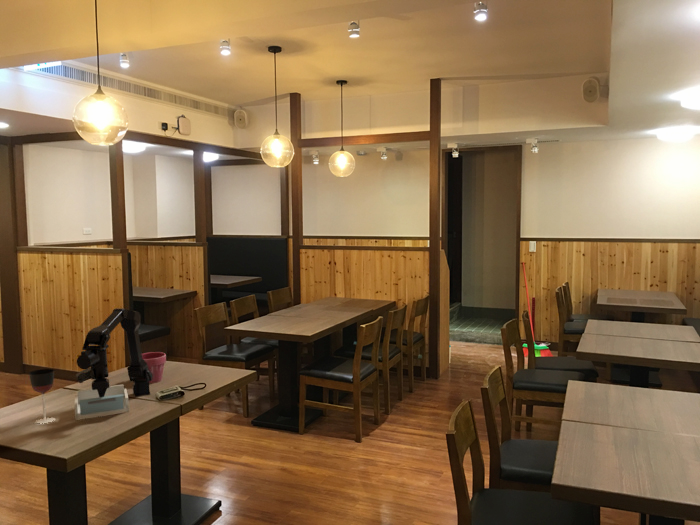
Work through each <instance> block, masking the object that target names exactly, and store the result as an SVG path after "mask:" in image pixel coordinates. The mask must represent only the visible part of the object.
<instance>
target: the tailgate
mask: <svg viewBox="0 0 700 525" xmlns="http://www.w3.org/2000/svg"><path fill="white" fill-rule="evenodd" d="M79 402H80V414H81V415H85V414H92V413H99V412H105V411H112V410H119V409H124V399H123V394H120V395H113V396H106V397H99V398H92V399H84V400H79Z"/></svg>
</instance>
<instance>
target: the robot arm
mask: <svg viewBox="0 0 700 525" xmlns="http://www.w3.org/2000/svg"><path fill="white" fill-rule="evenodd" d="M141 319H142V316H141V313H140V312H139V311H135V310H129V309H126V308H121V307H120V308H114V309H113V310H112V312H111V313H110V314H109V315H108V316H107V317H106V319H105V320H104V321H103V322H102V323H101V324H100V325H98V326H96V327H93V328H91V329H90V330H89V331H88V332H87V334H86V335H85V338H84V343H83V345H82V348H81V349H82V351H80V355H79V356H78V357H77V359H76V364H77V367H78V368H80V369H81V371H79V372H77V373H76V375H75V377H76V379H77V381H78V383H79V384H82V383H84V382H85V381H88V380H89V379H91V380H92V381H91V389H92V390H97V391H98V394H99V397H104V395H105V393H106V390H107V388H109V386H110V379H108V378H109V369H108V368H109V367H108V354H107V352H108V351H107V350H108V348H109V347H110V345H109V344H107V343H108V342H109V340H110V339H111V333H112V332H113V330H114V329H115V328H116V327H117V326H118V325H119V324H120V327H121V328H122V329H123V330H124V331H125V333H126V334H125V335H126V338H127V339H126V340H127V344H128V352H129V358H130V363H129V365H128V366H127V368H126V369H127V376H128V377H129V378H128V379H129V382H132V394H133V395H134V396H135V397H141V396H148V395H151V390H150V383H149V381H152V379H153V374H152V373H151V371H150V370H149V369H148V365H147V363H146V362H145V361H144V360H143V358H142V354H143V353H142V347H141V342H140V335H139V328H140V326H141V323H142V322H141Z"/></svg>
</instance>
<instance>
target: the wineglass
mask: <svg viewBox="0 0 700 525" xmlns="http://www.w3.org/2000/svg"><path fill="white" fill-rule="evenodd" d="M28 375H29V382H30V385H31V389H32V390H33V391H34V392H36V393H40V394H41V397H42V398H41V400H42V410H43V411H42V413H43V419H42V418H39V419H40V420H39V419H37V420H38V421H37V420H36V421H37V423H40V424H39V425H45V424H44V423H47V424H49V423H48V422H51V423H53V422H55V421H56V418H55V417H51V418H49V417H46V400H45V393H47V392H48V391H50V390H51V389H52V388H53V385H54V381H55V380H54V379H55V370H54V369H52V368H42V369H36V370H33V371H30V372H28ZM53 420H54V421H53ZM52 421H53V422H52ZM42 423H43V424H42Z"/></svg>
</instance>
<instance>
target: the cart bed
mask: <svg viewBox="0 0 700 525" xmlns="http://www.w3.org/2000/svg"><path fill="white" fill-rule="evenodd" d="M124 386H125V385H124V384H117V385H109V388H107V390H106V393H105V395H104V397H106V396H113V395H120V394H123V399H124V409H119V410H112V411H105V412H99V413H92V414H85V415H81V414H80V402H79V400H84V399H92V398H99V394H98V391H97V390H92V388H87V389H80V390H77V394H76V395H74V404H73V405H74V419H75V421H78V420H85V418H86V419H90V418H91V419H92V418H98V416H99V417H104V416H110V415H117V414H123V413H124V412H125V413H129V412H130V406H129V405H130V404H129V403H130V402H129V395H128V390H127V388H125V387H124Z"/></svg>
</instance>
